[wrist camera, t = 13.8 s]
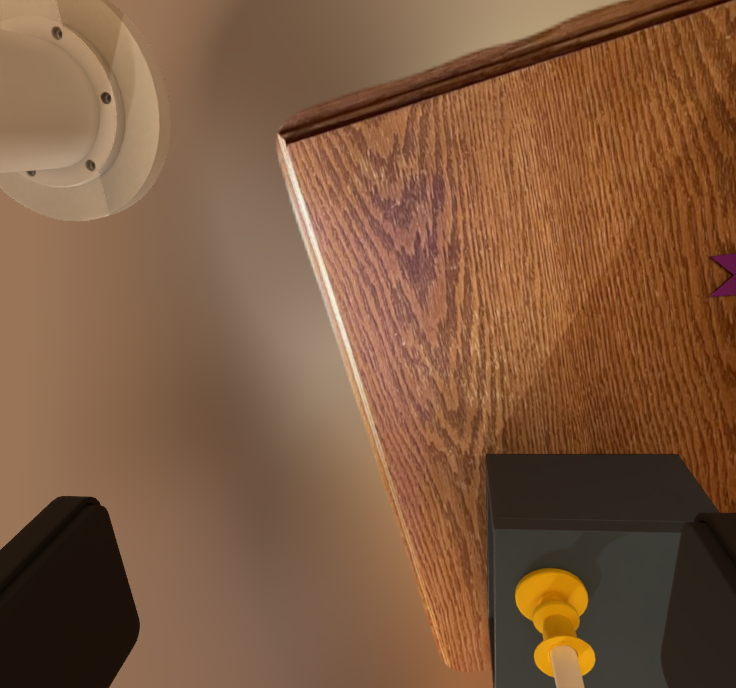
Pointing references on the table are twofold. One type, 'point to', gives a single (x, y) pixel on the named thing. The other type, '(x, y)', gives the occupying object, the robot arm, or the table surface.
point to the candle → (557, 623)
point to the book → (732, 264)
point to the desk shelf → (588, 556)
